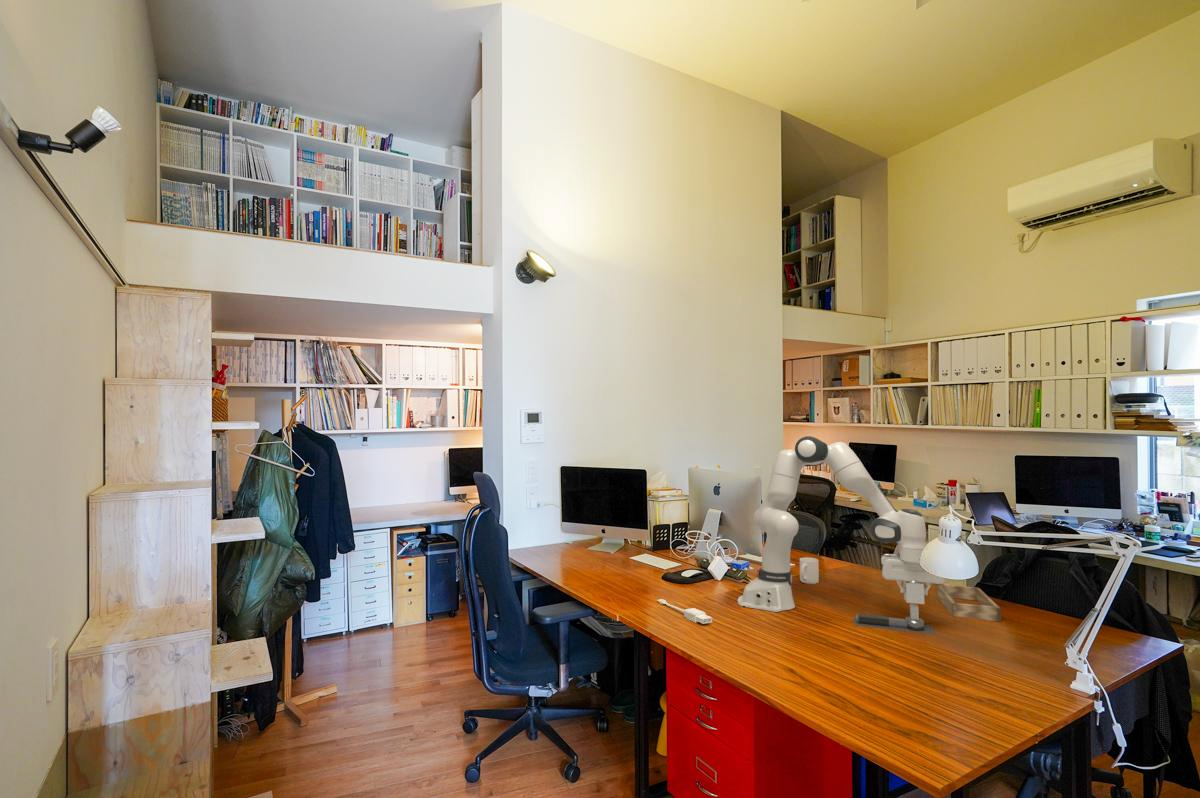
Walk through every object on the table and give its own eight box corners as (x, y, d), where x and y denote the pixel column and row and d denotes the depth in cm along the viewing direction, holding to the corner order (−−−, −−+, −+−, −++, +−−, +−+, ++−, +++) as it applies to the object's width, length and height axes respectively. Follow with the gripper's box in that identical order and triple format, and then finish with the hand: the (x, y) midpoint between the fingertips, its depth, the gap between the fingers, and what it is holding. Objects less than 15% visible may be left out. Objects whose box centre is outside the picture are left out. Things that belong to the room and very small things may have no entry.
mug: (810, 586, 258) (809, 563, 258) (793, 583, 264) (792, 560, 264) (821, 581, 266) (821, 559, 267) (805, 578, 272) (804, 556, 272)
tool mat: (854, 626, 207) (854, 625, 207) (852, 618, 215) (852, 617, 215) (936, 635, 198) (936, 633, 198) (930, 626, 206) (930, 625, 206)
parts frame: (953, 616, 217) (953, 603, 217) (937, 596, 244) (936, 584, 244) (1001, 621, 212) (1000, 607, 212) (979, 599, 238) (978, 587, 238)
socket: (906, 602, 203) (906, 581, 203) (904, 598, 208) (903, 577, 208) (924, 604, 201) (923, 582, 201) (921, 599, 206) (920, 578, 206)
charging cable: (663, 603, 237) (662, 595, 238) (713, 624, 209) (712, 614, 209) (652, 605, 235) (652, 597, 235) (702, 626, 206) (701, 617, 207)
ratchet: (857, 624, 207) (857, 602, 208) (856, 619, 213) (855, 597, 213) (925, 631, 200) (925, 608, 200) (922, 626, 206) (921, 603, 206)
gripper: (881, 554, 206) (883, 593, 205) (946, 559, 199) (947, 599, 198) (879, 551, 212) (880, 588, 211) (942, 555, 205) (943, 594, 204)
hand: (913, 593), depth 205 cm, fingers closed on socket, 6 cm apart
